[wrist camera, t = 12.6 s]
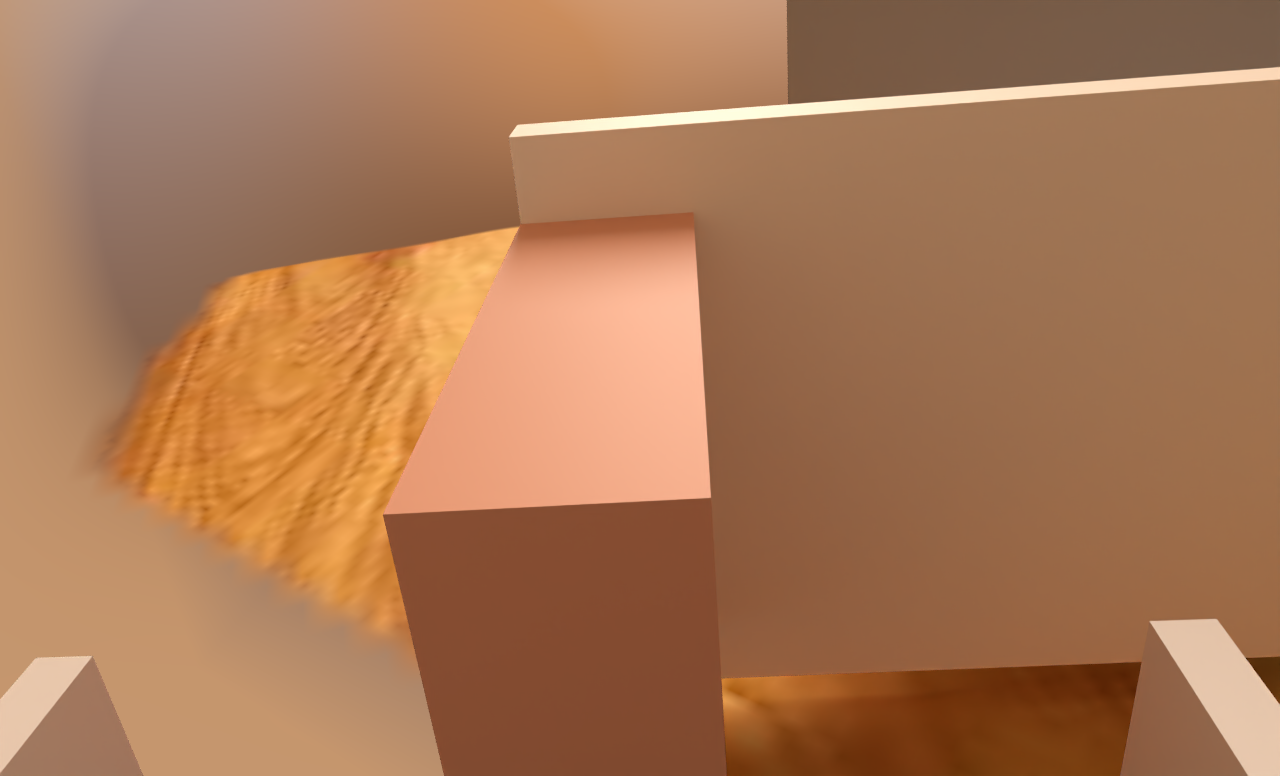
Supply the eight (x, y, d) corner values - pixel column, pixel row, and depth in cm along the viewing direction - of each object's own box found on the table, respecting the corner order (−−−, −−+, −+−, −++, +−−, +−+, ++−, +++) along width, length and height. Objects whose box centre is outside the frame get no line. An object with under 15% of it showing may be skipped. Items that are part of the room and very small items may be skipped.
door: (1310, 623, 22) (1471, 52, 16) (1763, 1137, 13) (2450, 238, 7) (588, 652, 23) (517, 124, 17) (531, 1146, 14) (348, 366, 8)
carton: (1552, 504, 26) (1785, -89, 20) (1415, 689, 21) (1674, -39, 15) (962, 327, 40) (989, -62, 33) (788, 412, 34) (781, -30, 28)
